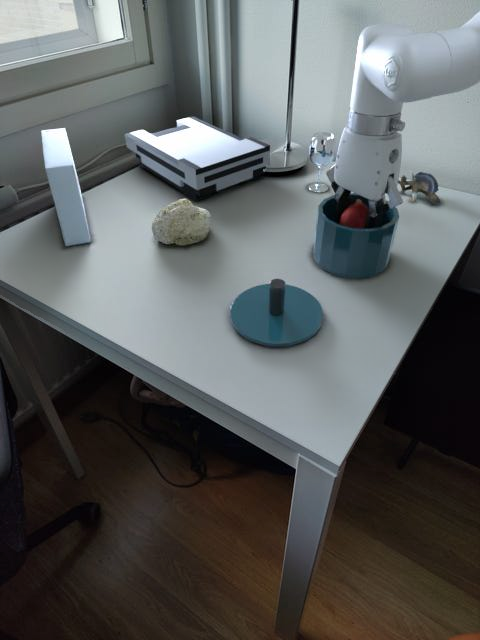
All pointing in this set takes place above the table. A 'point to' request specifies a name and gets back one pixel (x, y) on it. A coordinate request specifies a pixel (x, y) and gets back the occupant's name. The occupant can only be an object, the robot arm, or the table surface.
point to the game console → (199, 156)
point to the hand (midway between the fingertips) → (355, 225)
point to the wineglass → (321, 155)
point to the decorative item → (181, 223)
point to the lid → (276, 314)
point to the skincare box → (65, 186)
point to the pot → (353, 242)
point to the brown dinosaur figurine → (421, 186)
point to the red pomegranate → (355, 215)
